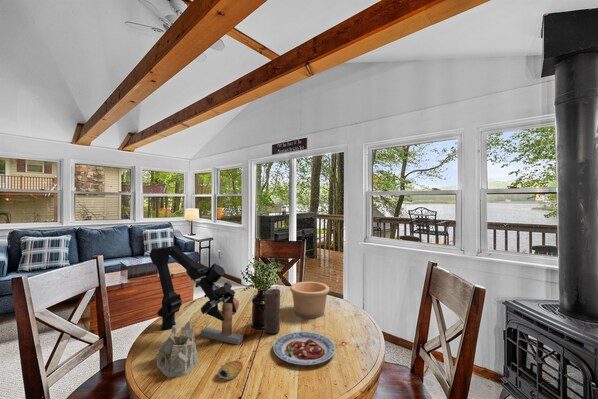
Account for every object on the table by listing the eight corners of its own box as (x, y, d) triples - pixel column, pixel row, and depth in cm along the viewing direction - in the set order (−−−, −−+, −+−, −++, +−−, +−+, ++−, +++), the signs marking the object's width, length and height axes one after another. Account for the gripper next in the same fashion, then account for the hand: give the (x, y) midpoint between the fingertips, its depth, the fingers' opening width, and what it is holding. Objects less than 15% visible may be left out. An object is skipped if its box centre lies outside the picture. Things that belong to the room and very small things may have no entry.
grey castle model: (166, 351, 114) (167, 315, 113) (205, 355, 113) (206, 319, 112) (142, 377, 98) (142, 336, 97) (187, 382, 97) (188, 341, 96)
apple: (241, 312, 154) (241, 298, 154) (228, 317, 147) (228, 302, 147) (232, 308, 160) (232, 294, 160) (218, 313, 153) (219, 298, 153)
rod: (222, 331, 126) (223, 303, 126) (232, 331, 127) (233, 303, 127) (220, 336, 122) (221, 306, 122) (231, 336, 122) (231, 306, 122)
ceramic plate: (325, 334, 131) (325, 328, 131) (343, 366, 105) (344, 359, 105) (271, 338, 126) (271, 331, 126) (276, 373, 101) (276, 364, 101)
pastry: (233, 363, 106) (233, 353, 106) (247, 368, 103) (247, 358, 103) (215, 377, 98) (215, 366, 98) (230, 383, 95) (230, 372, 95)
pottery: (295, 322, 143) (295, 294, 143) (286, 306, 164) (287, 282, 164) (334, 319, 148) (334, 292, 148) (321, 304, 169) (321, 280, 169)
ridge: (200, 336, 127) (200, 330, 127) (206, 332, 130) (206, 327, 130) (238, 344, 120) (238, 338, 120) (242, 340, 123) (242, 335, 123)
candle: (277, 336, 128) (277, 293, 128) (262, 334, 129) (262, 291, 129) (281, 329, 135) (282, 288, 135) (267, 327, 137) (267, 287, 137)
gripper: (206, 283, 117) (228, 313, 113) (232, 272, 135) (251, 298, 131) (191, 299, 120) (212, 329, 116) (218, 287, 137) (237, 312, 133)
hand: (229, 316), depth 124 cm, fingers open, 9 cm apart
